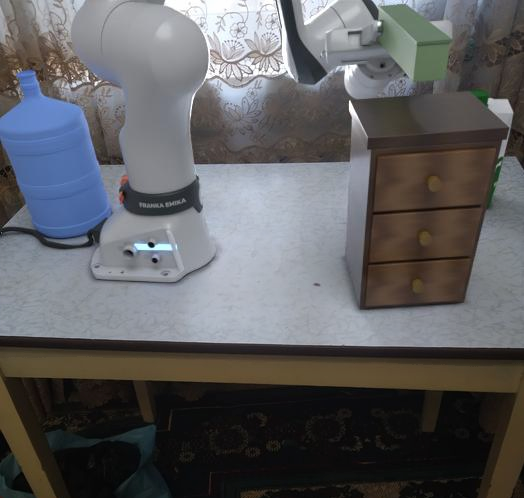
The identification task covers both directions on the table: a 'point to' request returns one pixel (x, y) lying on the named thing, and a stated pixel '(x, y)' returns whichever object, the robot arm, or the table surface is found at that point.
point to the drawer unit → (418, 195)
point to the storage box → (414, 43)
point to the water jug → (54, 162)
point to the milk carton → (505, 114)
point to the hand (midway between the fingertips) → (397, 24)
